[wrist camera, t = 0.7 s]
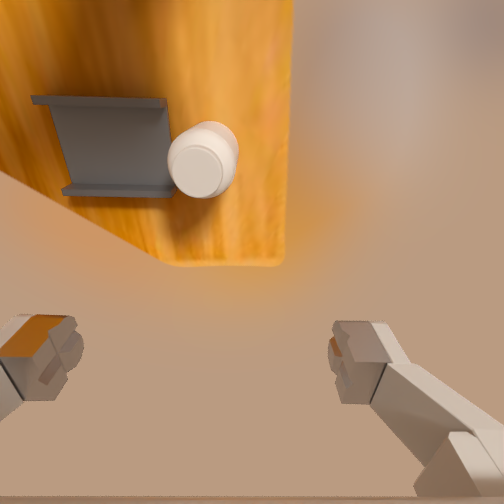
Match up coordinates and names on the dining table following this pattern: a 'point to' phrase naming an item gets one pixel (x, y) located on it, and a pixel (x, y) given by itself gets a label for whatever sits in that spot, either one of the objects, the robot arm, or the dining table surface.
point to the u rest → (113, 144)
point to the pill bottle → (203, 160)
